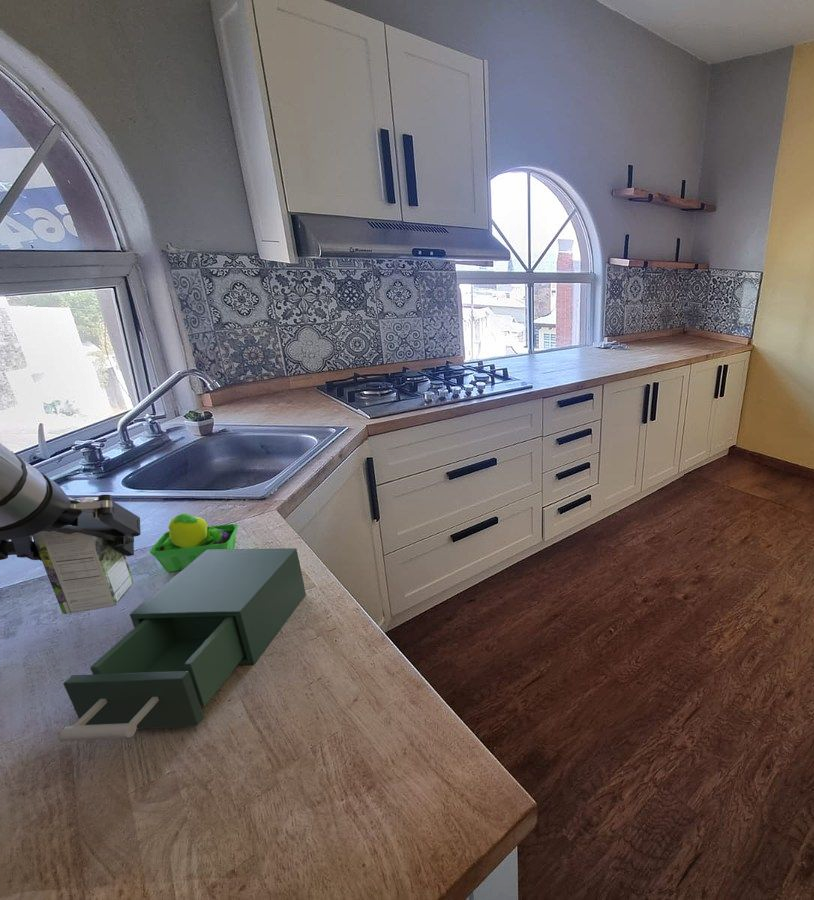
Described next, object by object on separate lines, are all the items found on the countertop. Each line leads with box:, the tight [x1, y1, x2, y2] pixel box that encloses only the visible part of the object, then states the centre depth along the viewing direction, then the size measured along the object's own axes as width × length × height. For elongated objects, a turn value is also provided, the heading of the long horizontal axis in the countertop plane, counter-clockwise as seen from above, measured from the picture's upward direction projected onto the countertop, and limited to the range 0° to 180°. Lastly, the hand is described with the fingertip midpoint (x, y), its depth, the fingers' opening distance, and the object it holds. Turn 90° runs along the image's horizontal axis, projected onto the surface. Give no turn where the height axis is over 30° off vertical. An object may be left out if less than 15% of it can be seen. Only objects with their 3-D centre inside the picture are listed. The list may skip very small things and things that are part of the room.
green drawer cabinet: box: [129, 547, 307, 666], centre depth 74 cm, size 16×14×9 cm
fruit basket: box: [149, 513, 239, 573], centre depth 89 cm, size 11×9×11 cm
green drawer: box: [59, 616, 245, 742], centre depth 62 cm, size 19×12×7 cm, turn 5°
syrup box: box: [32, 496, 135, 615], centre depth 68 cm, size 6×6×14 cm
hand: (97, 552), depth 71 cm, fingers closed on syrup box, 6 cm apart
